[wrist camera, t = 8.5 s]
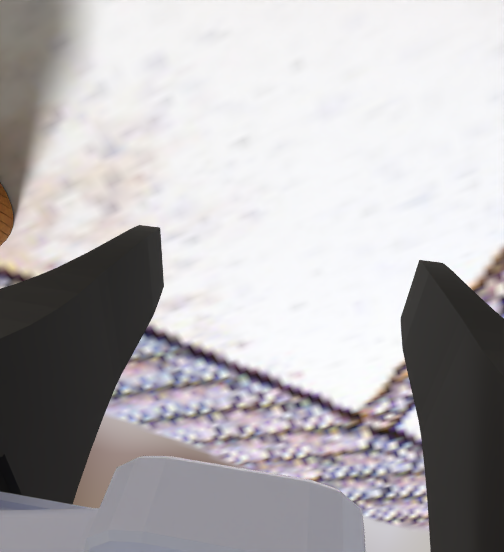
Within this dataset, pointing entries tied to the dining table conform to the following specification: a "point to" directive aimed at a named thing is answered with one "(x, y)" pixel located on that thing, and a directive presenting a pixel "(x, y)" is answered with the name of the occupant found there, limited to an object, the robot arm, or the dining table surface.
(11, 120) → the dining table surface
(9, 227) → the disposable coffee cup
